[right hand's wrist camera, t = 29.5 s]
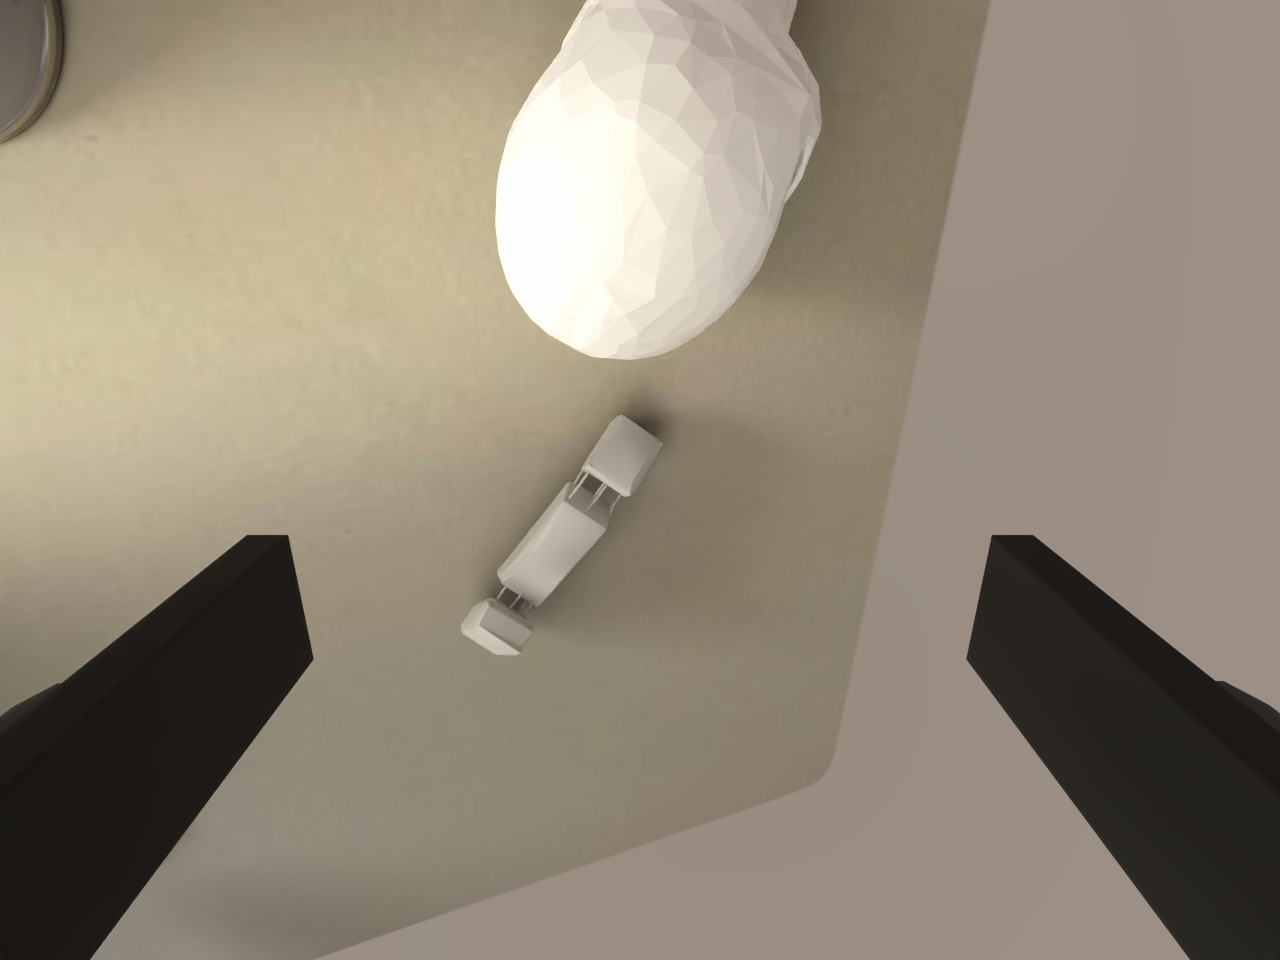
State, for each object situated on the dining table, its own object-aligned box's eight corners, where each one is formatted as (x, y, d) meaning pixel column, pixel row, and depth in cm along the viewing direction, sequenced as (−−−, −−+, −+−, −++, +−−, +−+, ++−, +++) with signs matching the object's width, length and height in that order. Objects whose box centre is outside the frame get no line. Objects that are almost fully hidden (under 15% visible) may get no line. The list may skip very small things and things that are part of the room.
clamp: (503, 644, 51) (490, 697, 45) (460, 619, 50) (441, 670, 44) (661, 434, 47) (672, 459, 41) (618, 403, 46) (622, 423, 40)
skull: (864, 8, 37) (1001, -142, 22) (686, 369, 44) (698, 439, 29) (644, -117, 35) (630, -368, 20) (496, 279, 43) (406, 305, 28)
